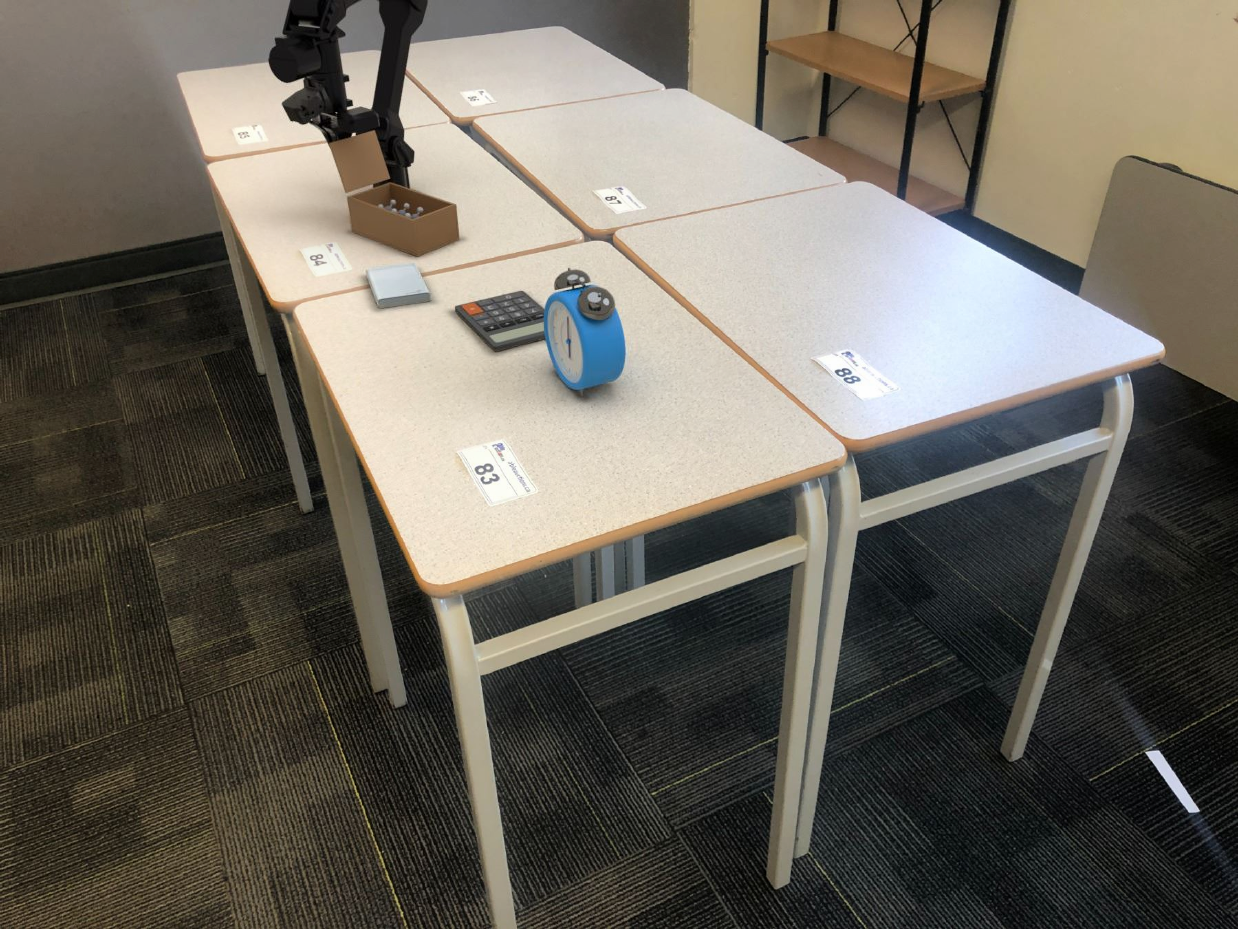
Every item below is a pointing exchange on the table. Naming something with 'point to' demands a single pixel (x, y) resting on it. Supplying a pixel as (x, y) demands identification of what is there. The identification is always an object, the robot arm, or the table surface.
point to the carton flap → (359, 161)
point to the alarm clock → (583, 332)
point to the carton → (404, 219)
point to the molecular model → (402, 212)
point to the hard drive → (397, 285)
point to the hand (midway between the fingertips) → (339, 161)
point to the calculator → (505, 319)
